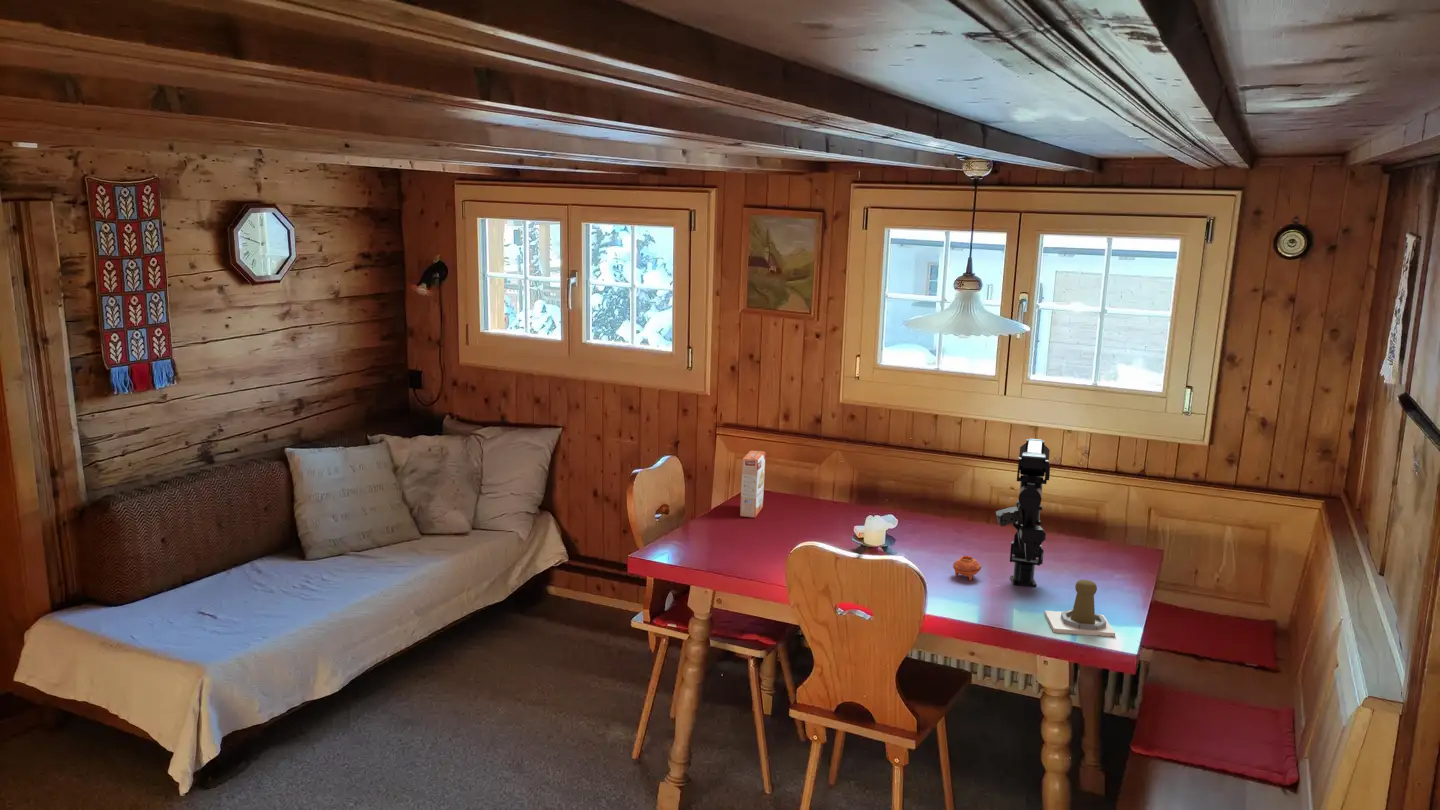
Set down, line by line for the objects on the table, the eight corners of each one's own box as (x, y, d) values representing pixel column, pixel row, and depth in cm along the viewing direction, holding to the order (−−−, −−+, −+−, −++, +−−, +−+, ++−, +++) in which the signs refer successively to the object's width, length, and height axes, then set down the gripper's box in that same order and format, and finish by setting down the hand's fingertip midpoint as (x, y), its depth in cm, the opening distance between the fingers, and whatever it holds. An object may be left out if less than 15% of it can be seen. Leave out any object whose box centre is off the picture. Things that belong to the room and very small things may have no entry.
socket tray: (1044, 614, 263) (1045, 606, 262) (1103, 618, 261) (1103, 610, 261) (1053, 632, 251) (1054, 624, 251) (1114, 636, 249) (1115, 628, 249)
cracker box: (756, 518, 341) (758, 459, 337) (739, 517, 342) (741, 458, 338) (764, 507, 354) (766, 450, 351) (747, 506, 356) (749, 449, 352)
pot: (987, 580, 286) (984, 559, 285) (962, 587, 285) (959, 566, 283) (974, 569, 294) (971, 549, 292) (950, 576, 293) (947, 556, 291)
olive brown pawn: (1100, 623, 255) (1104, 582, 253) (1084, 628, 252) (1088, 587, 250) (1080, 615, 260) (1084, 575, 258) (1065, 619, 257) (1069, 579, 255)
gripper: (994, 489, 277) (990, 542, 280) (1004, 507, 259) (1000, 564, 262) (1035, 491, 276) (1030, 545, 279) (1048, 510, 257) (1043, 567, 260)
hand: (1025, 555), depth 270 cm, fingers open, 9 cm apart
